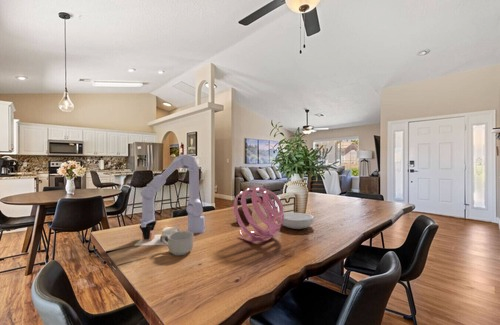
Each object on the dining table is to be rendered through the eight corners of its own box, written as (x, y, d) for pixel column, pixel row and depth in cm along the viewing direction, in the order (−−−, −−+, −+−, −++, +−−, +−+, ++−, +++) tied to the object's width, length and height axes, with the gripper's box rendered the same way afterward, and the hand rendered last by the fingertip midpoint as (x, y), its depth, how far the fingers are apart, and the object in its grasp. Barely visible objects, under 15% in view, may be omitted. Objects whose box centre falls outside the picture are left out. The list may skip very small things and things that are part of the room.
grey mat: (183, 234, 130) (183, 233, 130) (177, 245, 114) (177, 244, 114) (145, 235, 128) (145, 234, 128) (133, 246, 112) (133, 245, 112)
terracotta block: (154, 237, 123) (154, 230, 123) (151, 240, 118) (151, 232, 118) (145, 238, 122) (145, 230, 122) (142, 241, 118) (142, 233, 118)
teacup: (198, 250, 108) (198, 232, 108) (183, 259, 98) (183, 240, 97) (172, 246, 112) (172, 229, 112) (156, 255, 102) (156, 236, 102)
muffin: (245, 225, 148) (245, 209, 147) (231, 223, 154) (231, 207, 153) (255, 221, 157) (255, 206, 157) (242, 219, 164) (242, 204, 163)
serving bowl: (318, 225, 148) (318, 214, 148) (306, 234, 131) (306, 222, 131) (287, 220, 160) (287, 210, 160) (272, 228, 142) (272, 217, 142)
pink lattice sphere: (213, 199, 127) (249, 172, 114) (248, 205, 147) (282, 182, 134) (226, 252, 112) (268, 227, 100) (262, 250, 132) (302, 229, 120)
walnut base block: (180, 236, 126) (180, 231, 126) (177, 241, 118) (177, 236, 118) (164, 236, 125) (164, 231, 125) (160, 241, 117) (160, 236, 117)
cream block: (179, 231, 125) (179, 227, 125) (176, 236, 118) (176, 231, 118) (165, 232, 124) (165, 227, 124) (161, 236, 117) (161, 231, 117)
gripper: (145, 207, 127) (145, 233, 127) (134, 214, 113) (134, 242, 113) (158, 207, 128) (158, 232, 128) (149, 213, 113) (149, 242, 113)
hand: (148, 237), depth 120 cm, fingers closed on terracotta block, 4 cm apart
